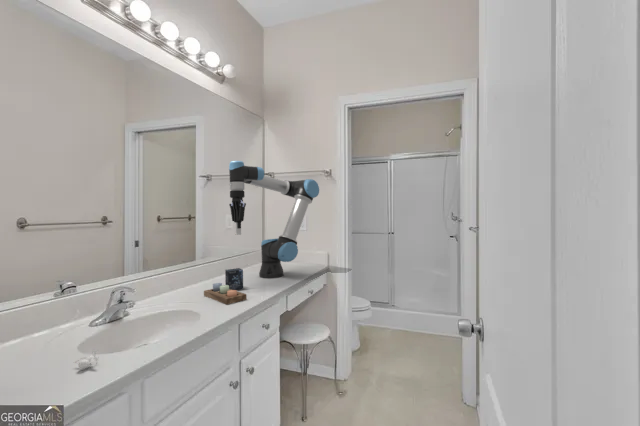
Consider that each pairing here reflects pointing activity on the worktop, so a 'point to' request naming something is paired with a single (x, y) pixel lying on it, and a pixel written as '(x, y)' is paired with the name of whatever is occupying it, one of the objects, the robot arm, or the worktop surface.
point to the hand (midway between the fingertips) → (238, 234)
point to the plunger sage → (224, 289)
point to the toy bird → (87, 360)
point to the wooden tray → (224, 296)
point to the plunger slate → (216, 287)
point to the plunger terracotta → (232, 293)
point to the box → (234, 278)
